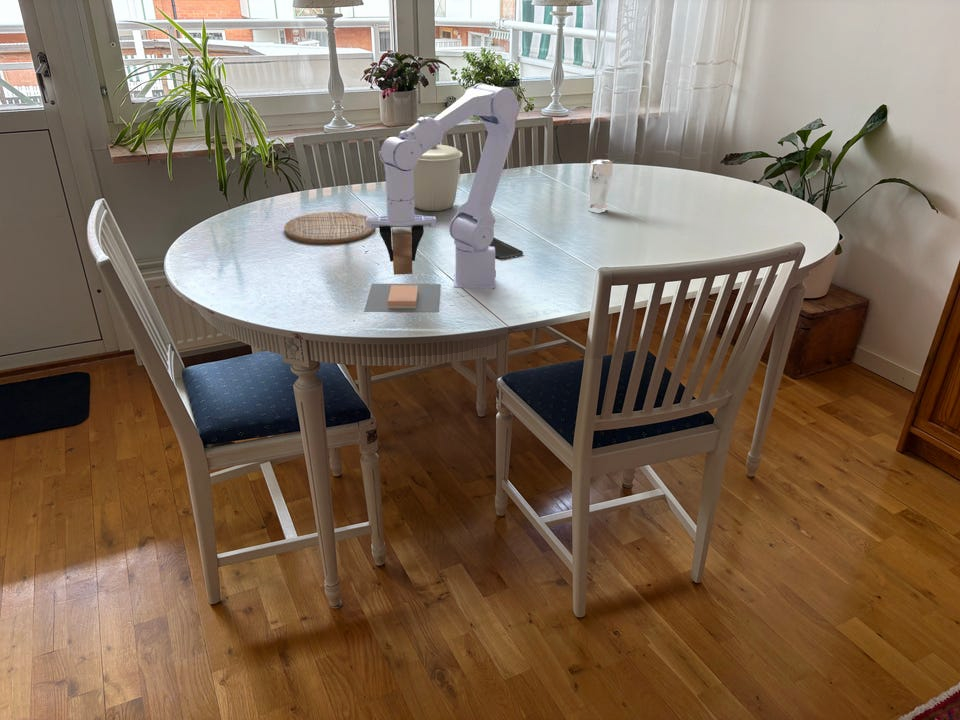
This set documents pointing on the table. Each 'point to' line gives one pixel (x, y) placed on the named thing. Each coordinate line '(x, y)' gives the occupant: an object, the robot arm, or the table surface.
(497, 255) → the phone
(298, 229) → the trivet
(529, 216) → the table surface
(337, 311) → the table surface
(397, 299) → the flat slab
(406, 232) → the wooden block
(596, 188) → the beer glass
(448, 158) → the canister
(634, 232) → the table surface
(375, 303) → the rubber mat
